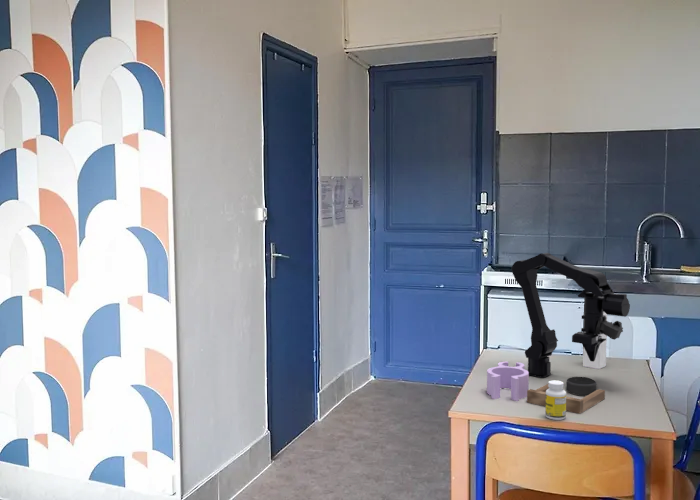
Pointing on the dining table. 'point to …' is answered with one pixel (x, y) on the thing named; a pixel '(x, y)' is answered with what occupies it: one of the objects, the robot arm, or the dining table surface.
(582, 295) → the robot arm
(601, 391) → the wooden tray
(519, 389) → the clip
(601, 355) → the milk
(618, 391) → the dining table surface
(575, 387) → the smart speaker
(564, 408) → the supplement bottle
